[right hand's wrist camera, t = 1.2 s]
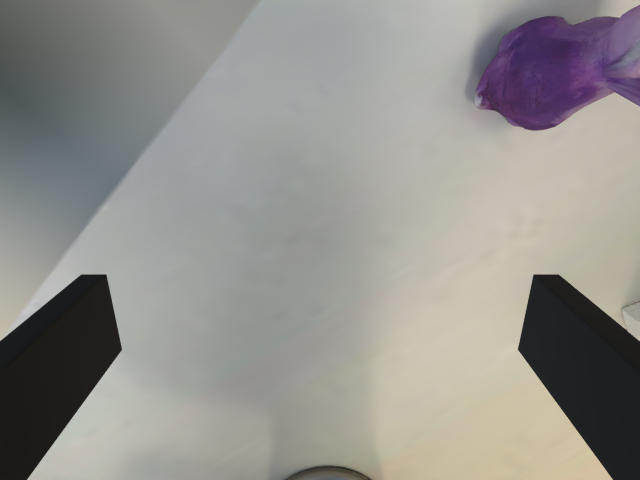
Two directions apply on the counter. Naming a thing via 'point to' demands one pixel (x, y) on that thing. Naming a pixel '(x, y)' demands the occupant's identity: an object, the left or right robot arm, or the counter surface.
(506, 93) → the figurine
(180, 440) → the counter surface
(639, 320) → the chest
